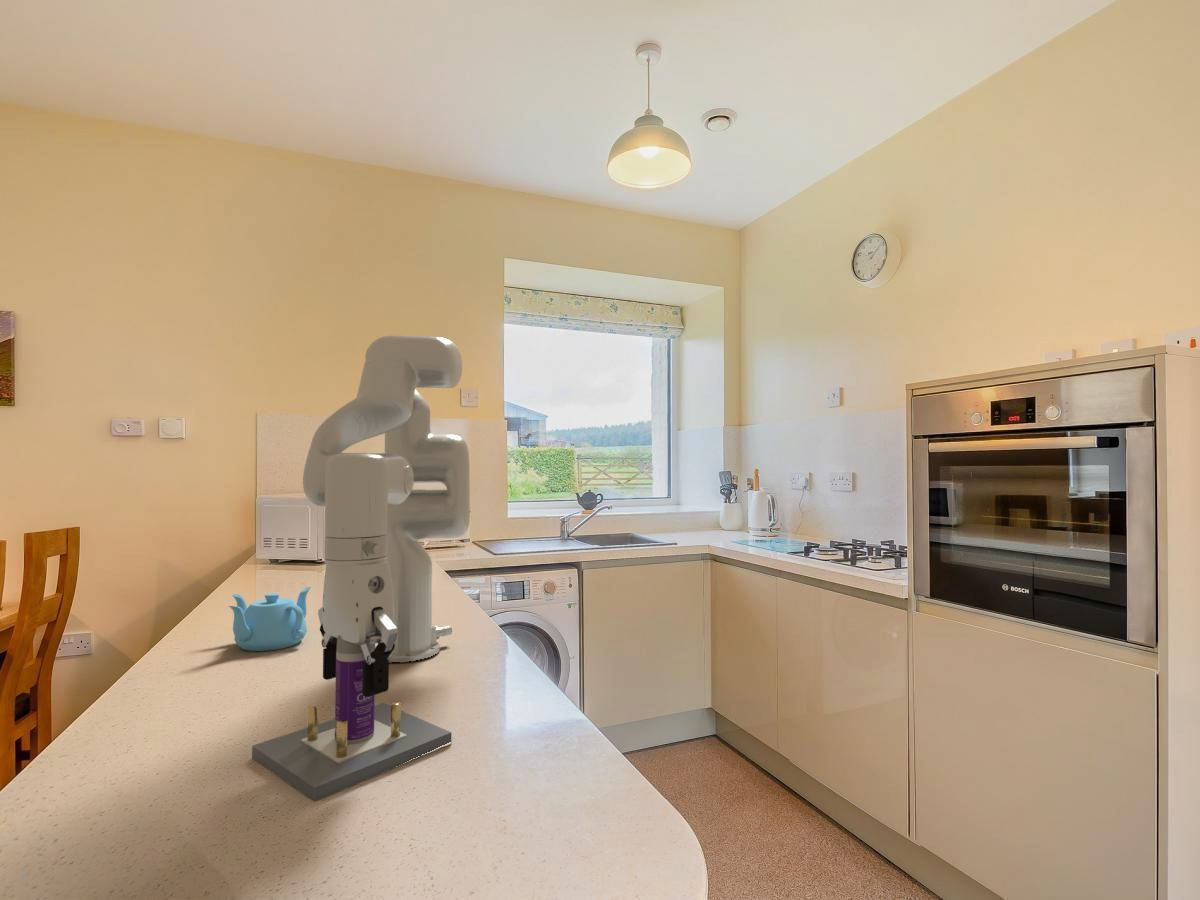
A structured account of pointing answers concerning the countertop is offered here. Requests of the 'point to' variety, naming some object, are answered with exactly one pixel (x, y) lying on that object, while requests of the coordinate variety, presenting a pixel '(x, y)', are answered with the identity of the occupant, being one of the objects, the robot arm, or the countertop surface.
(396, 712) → the standoffs
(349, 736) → the container
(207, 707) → the countertop surface
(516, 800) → the countertop surface
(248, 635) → the teapot
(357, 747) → the plate
